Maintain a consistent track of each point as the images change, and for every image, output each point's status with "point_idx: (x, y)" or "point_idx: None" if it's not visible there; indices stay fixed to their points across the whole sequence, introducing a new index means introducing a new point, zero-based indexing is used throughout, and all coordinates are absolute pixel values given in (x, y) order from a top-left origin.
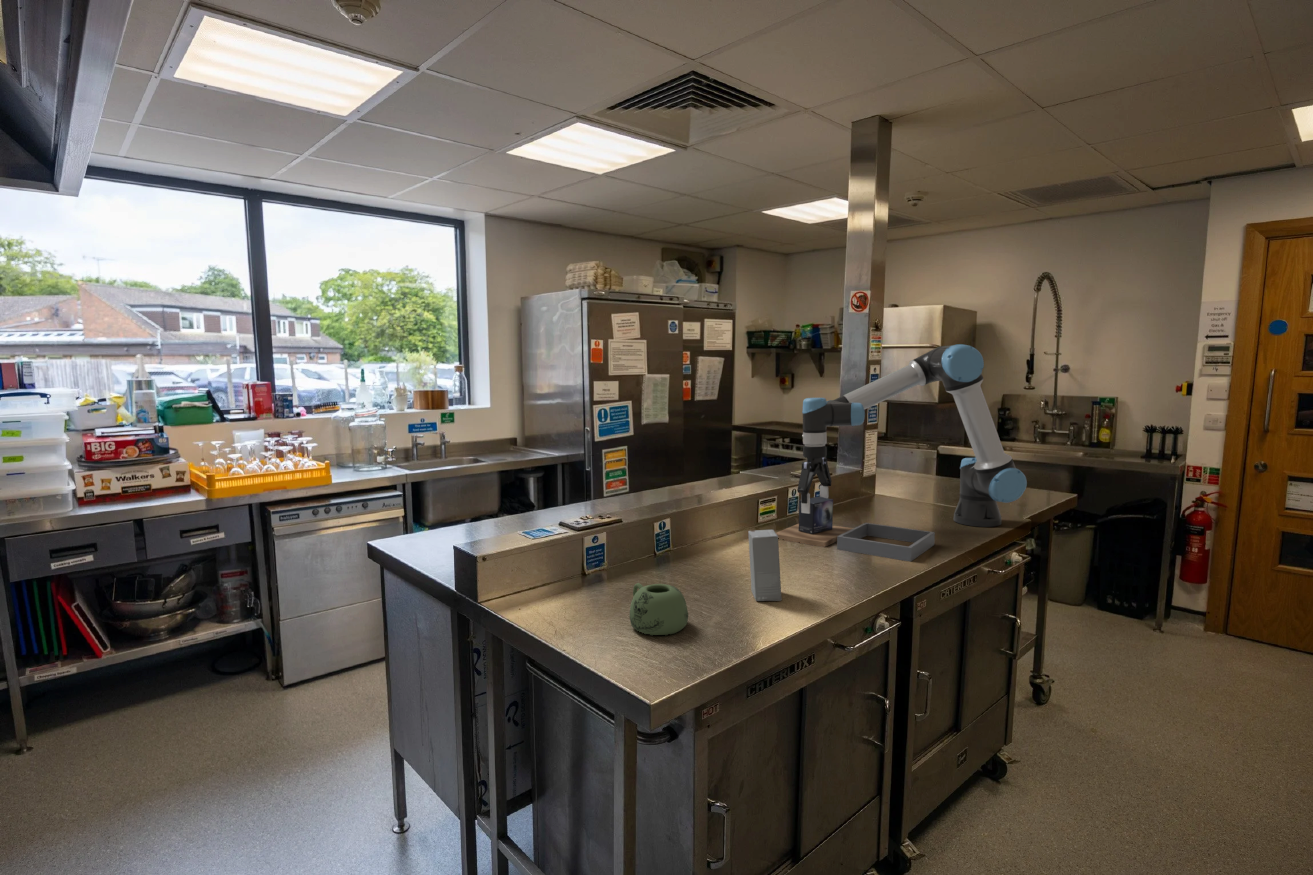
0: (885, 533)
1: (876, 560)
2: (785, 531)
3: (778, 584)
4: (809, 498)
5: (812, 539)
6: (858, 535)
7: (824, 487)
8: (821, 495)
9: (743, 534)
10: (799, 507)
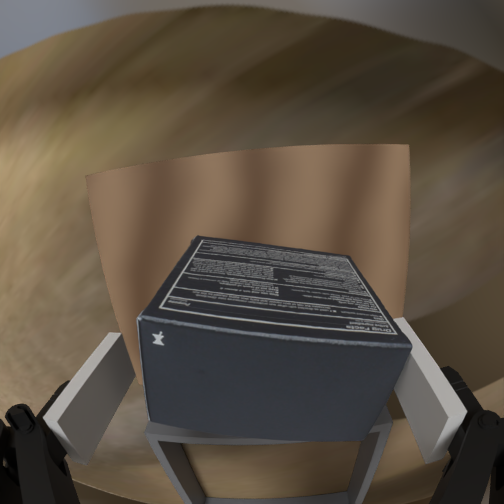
0: (364, 448)
1: (155, 469)
2: (151, 189)
3: None
4: (94, 437)
5: (134, 342)
6: None
7: (430, 443)
8: (412, 373)
9: (76, 51)
10: (155, 294)
